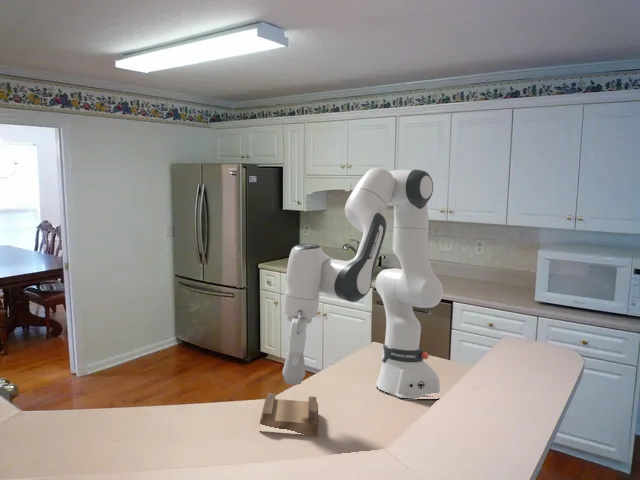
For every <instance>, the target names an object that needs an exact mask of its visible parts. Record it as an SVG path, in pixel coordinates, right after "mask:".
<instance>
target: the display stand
mask: <svg viewBox="0 0 640 480" xmlns="http://www.w3.org/2000/svg"><path fill="white" fill-rule="evenodd" d="M319 421H320V420H319V404H318V402H317V396H310V395H309V396H308V401H305V400H304V401H302V400H293V399H281V398H280V399H279V398H276V393H275V392H267V396H266V398H265V400H264V404H263V408H262V411H261V415H260V420H259V425H260V424H262V425H265V426H269V427H274V428H279V429H287V430H291V431H295V432H297V433H301V434H304V435H308V436H307V437H316V438H317V437H319V424H320V422H319ZM304 435H303V436H304Z"/></svg>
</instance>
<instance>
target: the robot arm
mask: <svg viewBox="0 0 640 480" xmlns="http://www.w3.org/2000/svg"><path fill="white" fill-rule="evenodd" d="M433 192H434V181H433V178H432V177H431V175H430V174H429V173H428V172H427V171H426V170H422V169H395V170H387V169H385V168H382V167H372V168H370V169H369V170H367V172H366V173H364V174H363V176H362V177H361V178H360V179H359V181H358V182H357V183H356V185H355V186H354V188H353V189H352V191H351V193H350V195H349V197H348V199H346V201H345V202H346V203H345V205H344V214H345V217H346V219H347V221H348V222H349V223H350V225H351V226H352V227H353V228H354V229H356V230H358V231H359V232H360V233H362V238H361V241H360V243H359V245H358V249H357V251H356V254H355V256H354V257H353V258H352V259H350V260H341V259H335V258H333V257H331V256H329V255H328V254H326V253H325V252H324V251H323V249H322V246H320V245H319V244H317V243H316V244H315V243H302V244H301V243H300V244H296V245H295V246H292V248H291V251H290V253H289V255H288V256H289V257H288V262H287V267H286V277H285V279H286V289H285V291H284V296H283V297H284V298H283V306H282V307H283V308H282V313H283V314H284V315H285V316H287V317H286V320H287V321H288V322H290V332H289V333H290V340H289V343H288V350H289V352H290V353H292V365H298V364H299V358H300V354H303V353H304V354H305V347H306V340H305V338H306V339H307V327H308V326H307V325H308V324H311V323H312V322H313V319H314V318H316V317H318V313H319V303H320V294H322V295H326V296H332V297H335V298H339V299H341V300H344V301H347V302H350V303H356V302H359V301H361V300H362V299H363V298H365V297H366V296H367V294H368V293H369V292H370V290H371V286H372V282H373V274H374V270H375V267H376V264H377V261H378V258H379V254H380V251H381V248H382V245H383V244H384V243H383V242H384V240H385V235H386V231H387V221H386V219H385V217H384V215H385V212H386V210H387V208H388V206H389V207H390V206H392V207H395V213H394V219H393V230H392V231H393V234H392V252H393V254H394V256H396V257H397V258H398V260H399V262H400V267H401V268H396V267H395V268H394V267H393V268H386V269H385V268H384V269H382V270H381V271H380V272H379V273H378V274H377V276H376V278H375V282H374V283H375V285H374V286H375V289H376V292H377V293H378V295H379V296H380V299H381V300H382V303H383V306H384V308H383V309H384V311H385V319H386V320H385V322H386V325H385V335H384V337H385V339H384V343H383V346H382V349H381V366H380V370H379V371H380V372H379V374H378V377H377V381H376V383H375V386H376V385H377V387H378V388H379V389H381V390H383V391H385V392H388V393H391V394H394V395H396V396H398V397H400V398H419V397H431V396H428V395H425V394H431V393H439V392H440V387H441V385H440V384H441V383H440V378H439V376H438V374H437V373H436V371H435V370H434V369H433V368H432V367H431V366H430V365H429V364H428V363H427V362H426V361H425V360H428V359H429V356H430V355H429V354H428V352H427V351H424V350H423V349H421V348H420V339H421V331H422V325H421V321H419V319H418V318H417V316H416V315H415V312H414V309H413V307H415V308H419V309H423V308H424V309H430V308H431V309H433V308H434V307H436V306H437V305H439V304H440V302H441V301H442V299H443V298H442V297H443V295H444V287H443V283H442V282H441V281H440V279H439V278H438V277H437V275H436V274H435V272H434V270H433V267H432V265H431V263H430V259H429V247H428V244H429V242H428V241H429V208H428V202H430V200H431V197H432V195H433ZM297 333H298V334H297ZM379 389H378V390H379ZM385 392H384V393H385ZM391 394H390V395H391ZM422 394H423V395H422ZM394 395H393V396H394ZM396 396H395V397H396ZM398 397H397V398H398ZM432 397H433V396H432ZM400 398H399V399H400Z"/></svg>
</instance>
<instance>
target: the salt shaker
mask: <svg viewBox="0 0 640 480" xmlns="http://www.w3.org/2000/svg"><path fill="white" fill-rule="evenodd" d="M297 334H298V333H297ZM306 339H307V337H306V338H305V341H307V340H306ZM288 340H289V341H290V332H289V334H288ZM285 357H286V358H285V362H284V365H283V368H282V373H281V374H282V377H283V380H284V382H285V383H286V384H287V385H291V386H292V385H293V386H297V385H301V383H302V382H303V379H304V378H305V376H306V364H305V352H304V353H303V354H300V358H299V364H298V365H292V353H290V352H289V349H288V350H287V354H286V356H285Z"/></svg>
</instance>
